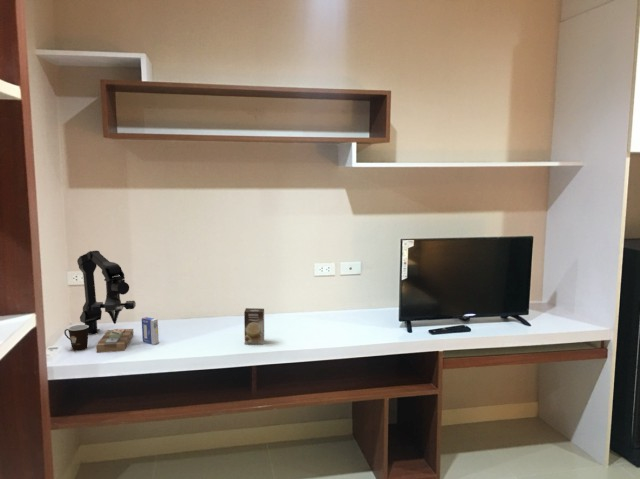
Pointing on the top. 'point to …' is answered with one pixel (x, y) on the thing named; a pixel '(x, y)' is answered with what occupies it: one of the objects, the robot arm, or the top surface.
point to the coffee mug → (78, 337)
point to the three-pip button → (115, 334)
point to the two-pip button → (119, 330)
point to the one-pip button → (112, 340)
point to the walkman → (150, 330)
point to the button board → (115, 347)
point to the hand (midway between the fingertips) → (114, 323)
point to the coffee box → (254, 326)
